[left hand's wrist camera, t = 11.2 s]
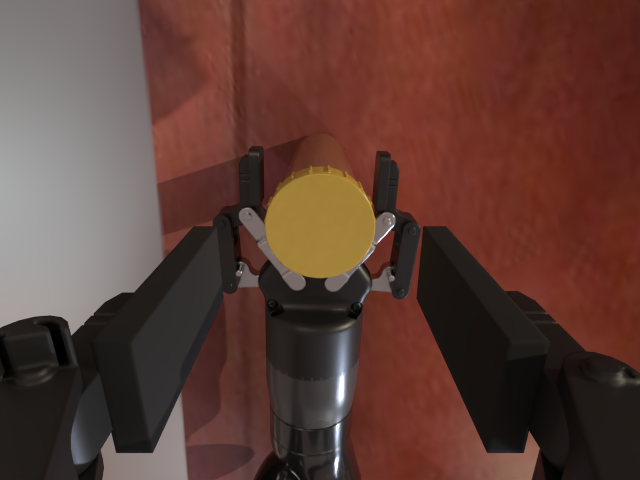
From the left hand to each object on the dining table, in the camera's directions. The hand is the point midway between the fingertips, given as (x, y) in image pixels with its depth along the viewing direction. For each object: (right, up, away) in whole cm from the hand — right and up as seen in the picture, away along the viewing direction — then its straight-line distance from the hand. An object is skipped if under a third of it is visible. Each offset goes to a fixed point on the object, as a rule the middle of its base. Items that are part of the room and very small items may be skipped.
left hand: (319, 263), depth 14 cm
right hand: (0, +7, +13) cm, 15 cm away
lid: (0, +1, +4) cm, 4 cm away
